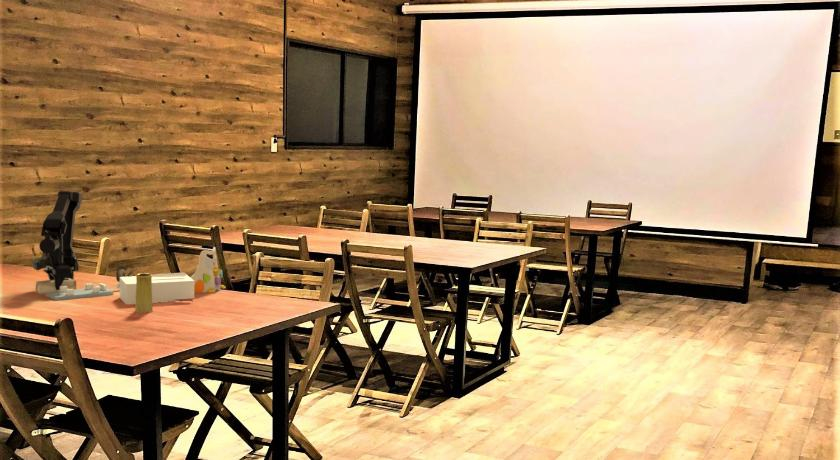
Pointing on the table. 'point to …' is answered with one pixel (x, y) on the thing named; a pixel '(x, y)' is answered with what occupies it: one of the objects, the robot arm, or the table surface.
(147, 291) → the vase
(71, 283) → the beam with grey square
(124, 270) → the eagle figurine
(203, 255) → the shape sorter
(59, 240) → the robot arm
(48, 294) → the jig
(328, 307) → the table surface
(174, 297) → the tissue box
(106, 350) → the table surface
